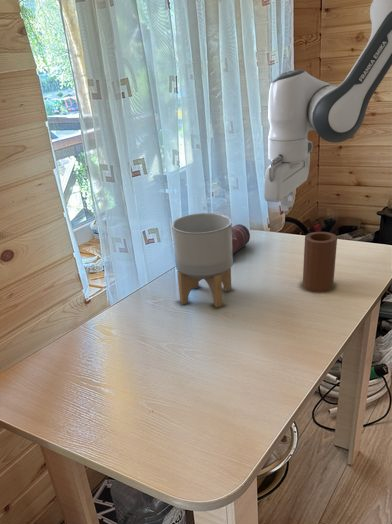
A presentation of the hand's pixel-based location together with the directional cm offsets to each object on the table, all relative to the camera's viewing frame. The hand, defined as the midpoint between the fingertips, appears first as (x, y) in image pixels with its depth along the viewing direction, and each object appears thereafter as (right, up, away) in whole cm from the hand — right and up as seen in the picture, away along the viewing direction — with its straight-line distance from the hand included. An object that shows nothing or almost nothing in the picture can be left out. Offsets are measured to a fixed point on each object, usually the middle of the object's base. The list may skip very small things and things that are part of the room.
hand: (286, 209), depth 126 cm
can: (-9, -2, +20) cm, 22 cm away
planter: (-20, -22, -5) cm, 30 cm away
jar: (+7, -19, -4) cm, 21 cm away
